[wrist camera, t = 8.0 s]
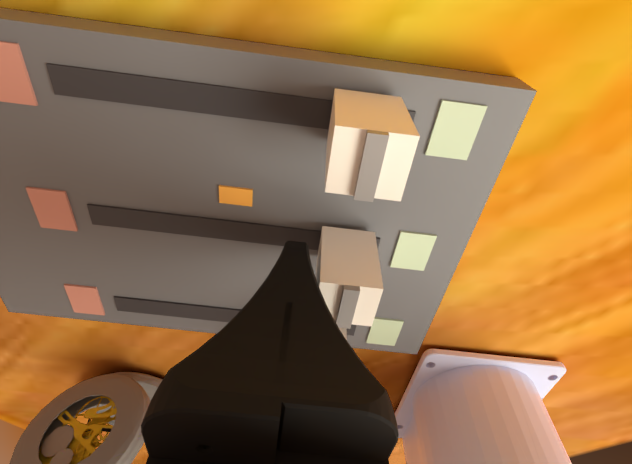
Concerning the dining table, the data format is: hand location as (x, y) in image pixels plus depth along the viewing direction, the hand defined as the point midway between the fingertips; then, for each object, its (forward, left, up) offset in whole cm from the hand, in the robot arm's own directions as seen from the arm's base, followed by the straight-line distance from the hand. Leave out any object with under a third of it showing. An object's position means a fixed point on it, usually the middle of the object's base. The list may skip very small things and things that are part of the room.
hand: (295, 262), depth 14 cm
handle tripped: (0, -2, -1) cm, 2 cm away
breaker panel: (0, +3, -3) cm, 5 cm away
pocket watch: (-15, +9, -3) cm, 18 cm away
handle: (+5, -2, -1) cm, 5 cm away
